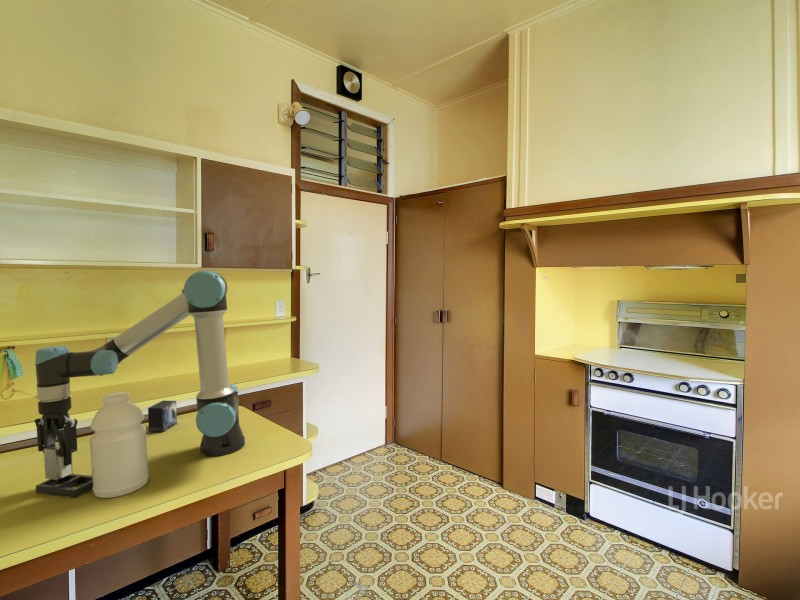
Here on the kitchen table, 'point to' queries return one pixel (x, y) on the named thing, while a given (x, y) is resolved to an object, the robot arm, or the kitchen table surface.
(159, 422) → the small box
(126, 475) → the bottle
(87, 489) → the divided tray
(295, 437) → the kitchen table surface
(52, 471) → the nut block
